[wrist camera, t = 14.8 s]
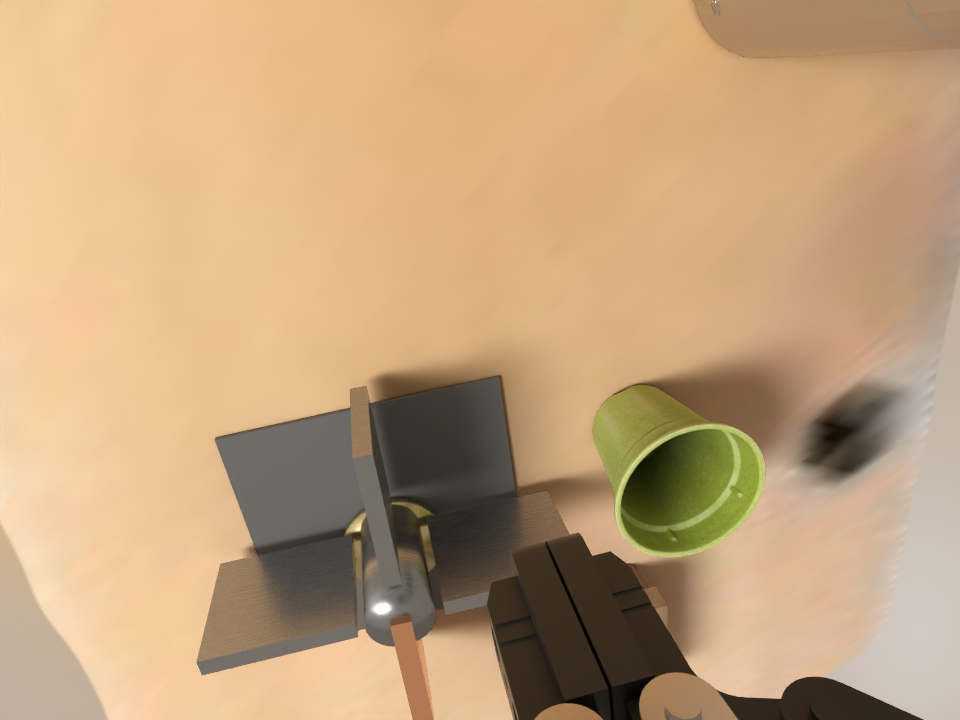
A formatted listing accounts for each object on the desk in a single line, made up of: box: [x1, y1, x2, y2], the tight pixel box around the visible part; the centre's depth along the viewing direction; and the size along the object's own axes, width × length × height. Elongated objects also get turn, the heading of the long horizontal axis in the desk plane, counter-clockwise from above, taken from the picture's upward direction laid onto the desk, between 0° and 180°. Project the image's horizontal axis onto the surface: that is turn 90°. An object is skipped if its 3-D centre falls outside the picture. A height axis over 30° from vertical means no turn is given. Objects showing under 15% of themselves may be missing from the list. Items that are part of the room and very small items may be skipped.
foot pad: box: [215, 376, 516, 630], centre depth 44 cm, size 18×19×1 cm
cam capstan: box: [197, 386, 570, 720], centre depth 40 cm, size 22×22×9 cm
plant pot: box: [593, 385, 766, 557], centre depth 42 cm, size 9×9×9 cm
